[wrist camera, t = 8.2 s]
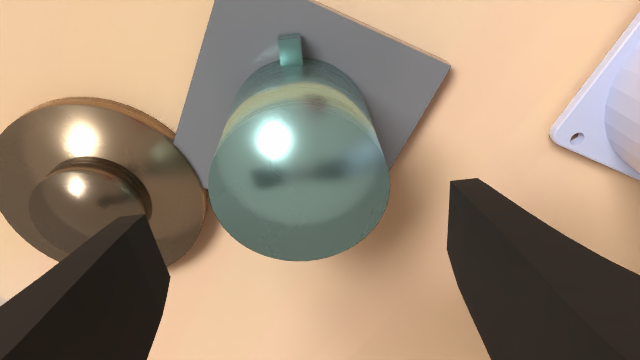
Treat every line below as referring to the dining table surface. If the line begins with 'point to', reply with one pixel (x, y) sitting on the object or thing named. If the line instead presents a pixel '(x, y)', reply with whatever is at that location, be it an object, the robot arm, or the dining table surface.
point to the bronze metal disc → (96, 176)
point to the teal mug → (298, 161)
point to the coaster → (317, 42)
